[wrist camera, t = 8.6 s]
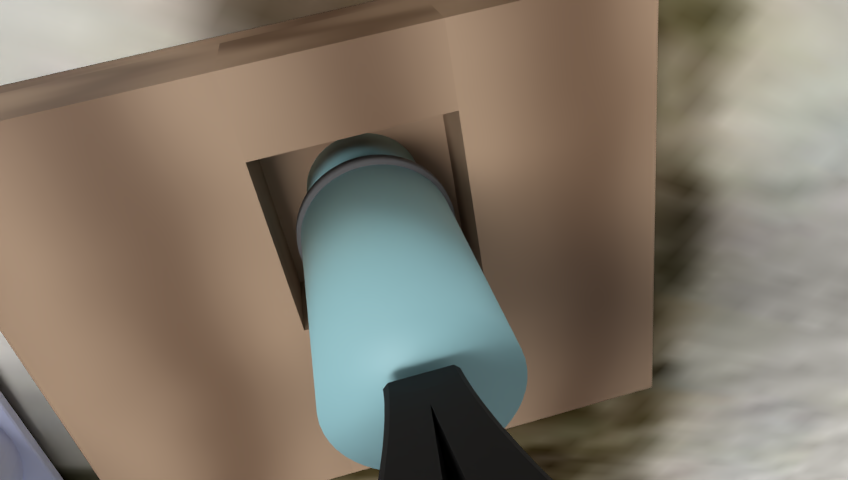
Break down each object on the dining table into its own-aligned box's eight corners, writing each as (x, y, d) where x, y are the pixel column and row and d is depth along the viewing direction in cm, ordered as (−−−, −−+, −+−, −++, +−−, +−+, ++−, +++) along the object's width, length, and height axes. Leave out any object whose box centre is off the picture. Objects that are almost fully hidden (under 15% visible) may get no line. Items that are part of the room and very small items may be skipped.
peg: (311, 260, 21) (338, 497, 13) (275, 138, 19) (284, 338, 11) (441, 229, 21) (539, 442, 14) (421, 105, 19) (524, 278, 12)
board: (150, 456, 25) (136, 534, 22) (-60, 99, 17) (-122, 148, 14) (610, 329, 26) (651, 387, 23) (600, -51, 19) (658, -32, 16)
